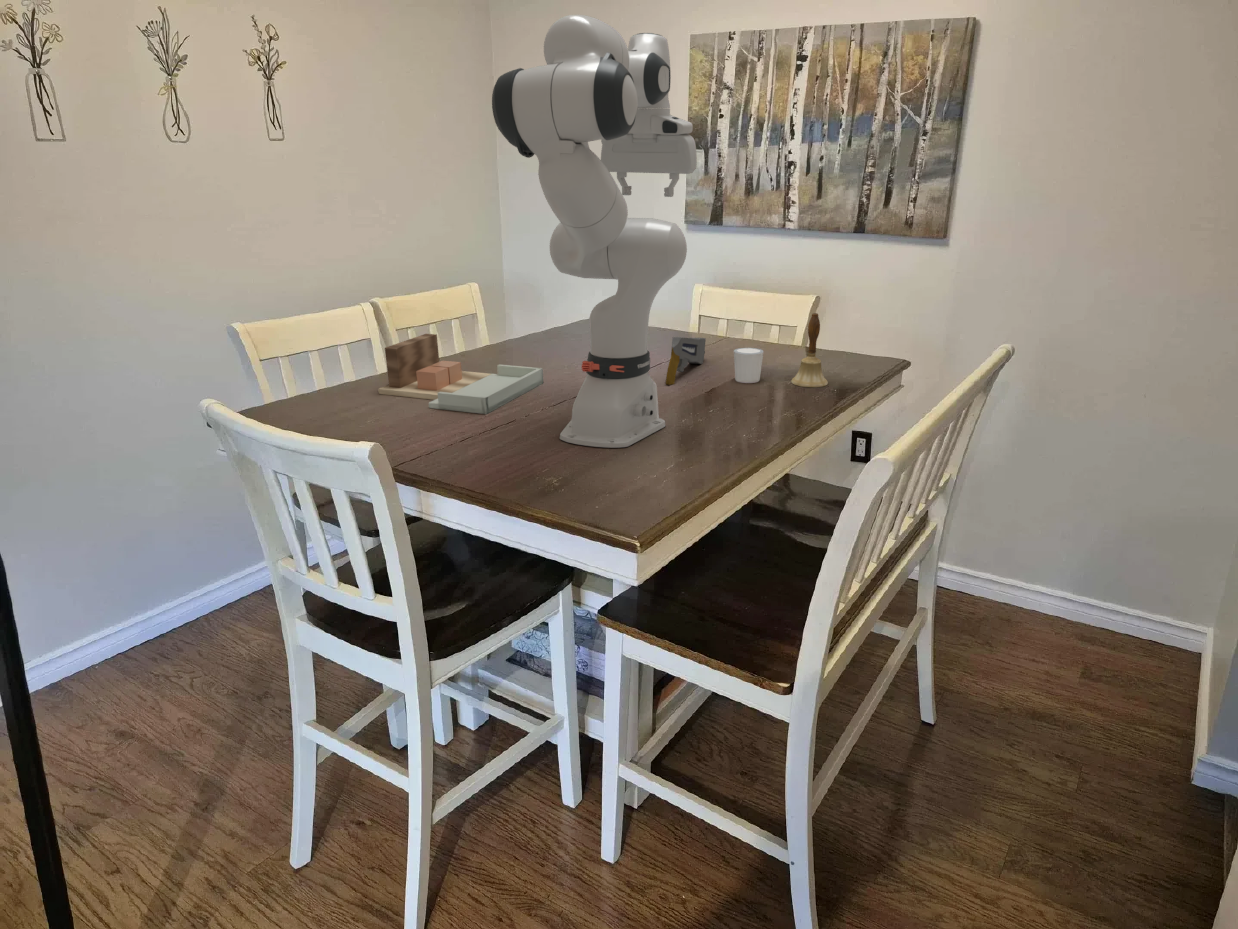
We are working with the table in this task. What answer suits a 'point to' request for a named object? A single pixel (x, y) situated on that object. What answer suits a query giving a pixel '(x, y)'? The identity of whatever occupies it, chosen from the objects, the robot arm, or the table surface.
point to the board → (414, 392)
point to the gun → (684, 355)
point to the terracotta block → (432, 378)
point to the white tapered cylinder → (748, 364)
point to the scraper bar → (410, 359)
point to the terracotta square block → (451, 370)
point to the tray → (491, 390)
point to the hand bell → (811, 360)
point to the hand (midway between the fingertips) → (647, 195)
